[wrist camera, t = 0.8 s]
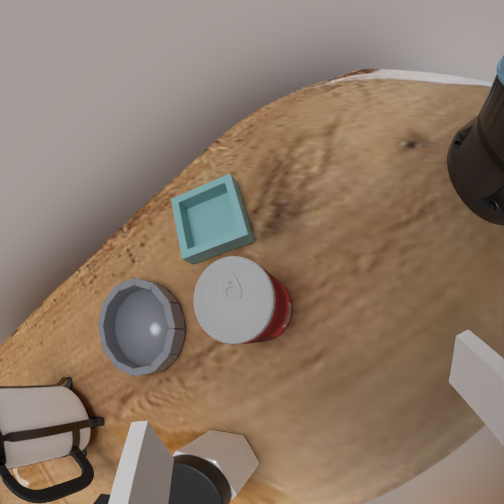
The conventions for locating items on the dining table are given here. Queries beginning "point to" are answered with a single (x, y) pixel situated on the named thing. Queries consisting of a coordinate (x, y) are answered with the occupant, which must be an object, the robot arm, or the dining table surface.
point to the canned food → (241, 302)
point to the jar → (211, 469)
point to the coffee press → (44, 435)
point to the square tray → (211, 220)
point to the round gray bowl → (141, 327)
